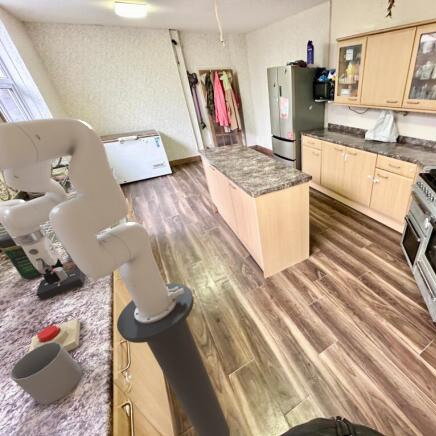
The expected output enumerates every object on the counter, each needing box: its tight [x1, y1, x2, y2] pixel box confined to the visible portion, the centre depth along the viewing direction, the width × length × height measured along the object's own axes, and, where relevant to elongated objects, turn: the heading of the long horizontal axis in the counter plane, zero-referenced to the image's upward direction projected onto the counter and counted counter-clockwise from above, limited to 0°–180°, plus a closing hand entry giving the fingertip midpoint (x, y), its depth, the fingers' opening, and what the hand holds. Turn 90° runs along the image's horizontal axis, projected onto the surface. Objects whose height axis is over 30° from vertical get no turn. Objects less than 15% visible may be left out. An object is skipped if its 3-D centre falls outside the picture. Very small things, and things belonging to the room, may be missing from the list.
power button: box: [37, 324, 60, 342], centre depth 64 cm, size 4×4×2 cm
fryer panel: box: [35, 267, 85, 301], centre depth 87 cm, size 12×9×3 cm
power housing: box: [27, 317, 81, 353], centre depth 65 cm, size 10×10×4 cm
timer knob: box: [53, 267, 68, 284], centre depth 86 cm, size 4×4×4 cm
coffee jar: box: [0, 232, 49, 280], centre depth 92 cm, size 10×8×19 cm
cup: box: [9, 342, 83, 406], centre depth 54 cm, size 8×8×10 cm
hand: (56, 275), depth 86 cm, fingers open, 9 cm apart
